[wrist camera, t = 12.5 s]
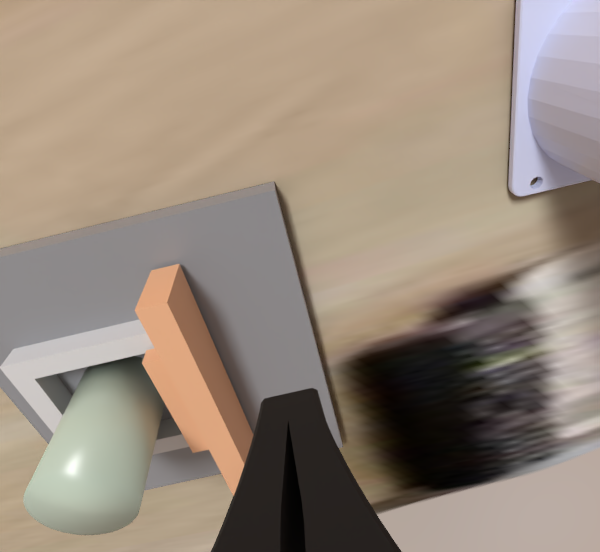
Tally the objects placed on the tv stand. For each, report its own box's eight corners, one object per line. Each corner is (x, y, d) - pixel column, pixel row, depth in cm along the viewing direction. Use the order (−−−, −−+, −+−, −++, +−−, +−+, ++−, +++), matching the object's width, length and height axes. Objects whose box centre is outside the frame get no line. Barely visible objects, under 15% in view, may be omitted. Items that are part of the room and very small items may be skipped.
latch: (179, 263, 17) (166, 302, 15) (258, 445, 24) (258, 493, 21) (123, 277, 17) (101, 318, 15) (216, 454, 24) (211, 503, 21)
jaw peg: (143, 343, 20) (103, 457, 14) (182, 401, 22) (158, 518, 16) (65, 368, 20) (-2, 488, 15) (110, 423, 22) (65, 544, 17)
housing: (274, 181, 17) (276, 201, 15) (340, 432, 26) (346, 465, 24) (-75, 266, 18) (-114, 296, 16) (101, 485, 26) (89, 521, 24)
